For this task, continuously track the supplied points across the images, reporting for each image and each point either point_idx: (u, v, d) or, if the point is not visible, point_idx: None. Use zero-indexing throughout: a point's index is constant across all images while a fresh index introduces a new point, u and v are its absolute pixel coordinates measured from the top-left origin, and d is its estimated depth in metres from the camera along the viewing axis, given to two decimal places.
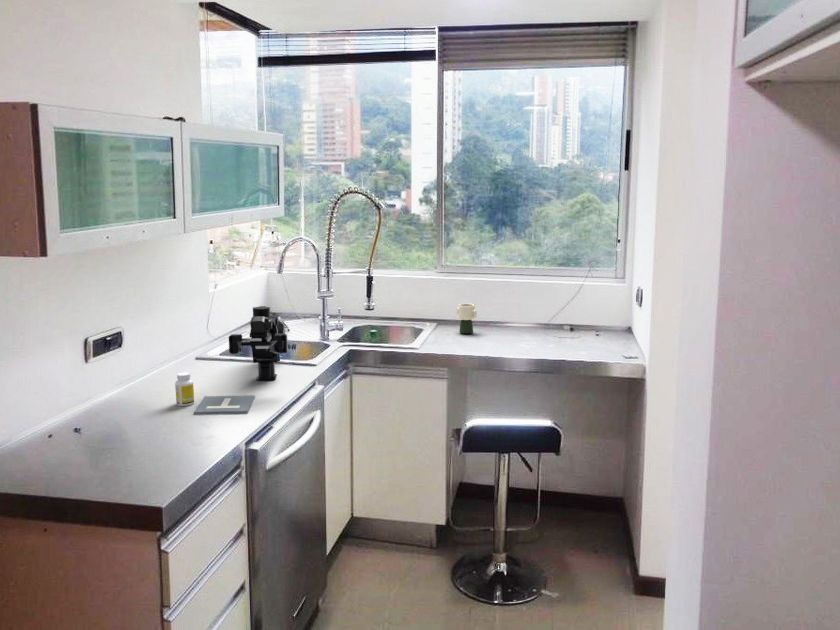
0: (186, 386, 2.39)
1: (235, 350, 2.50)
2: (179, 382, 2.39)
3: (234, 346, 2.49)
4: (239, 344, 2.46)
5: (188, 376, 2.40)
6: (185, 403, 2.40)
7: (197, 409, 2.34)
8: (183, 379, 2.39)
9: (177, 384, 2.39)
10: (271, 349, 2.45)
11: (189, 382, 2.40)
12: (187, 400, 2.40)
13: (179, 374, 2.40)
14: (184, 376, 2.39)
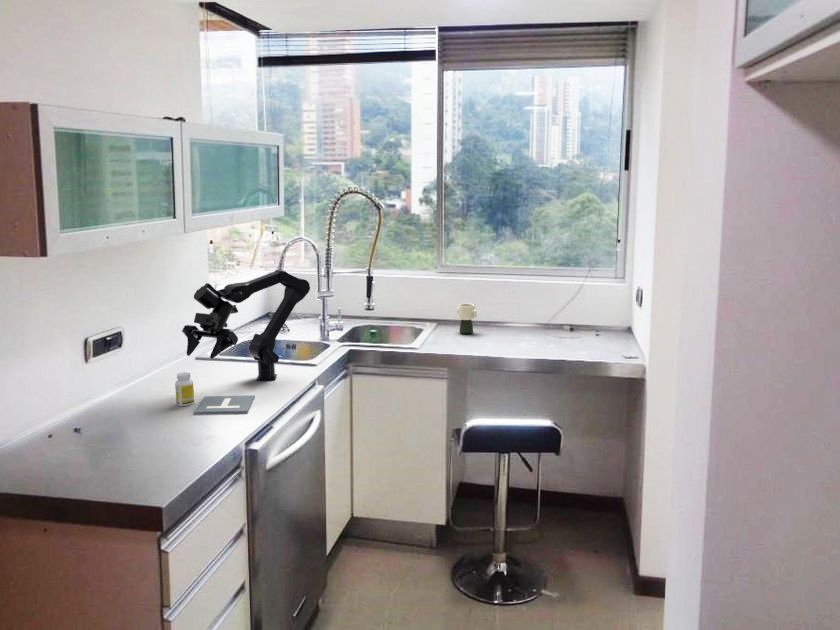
0: (186, 386, 2.39)
1: None
2: (179, 382, 2.39)
3: None
4: (188, 345, 2.50)
5: (188, 376, 2.40)
6: (185, 403, 2.40)
7: (197, 409, 2.34)
8: (183, 379, 2.39)
9: (177, 384, 2.39)
10: (213, 356, 2.46)
11: (189, 382, 2.40)
12: (187, 400, 2.40)
13: (179, 374, 2.40)
14: (184, 376, 2.39)
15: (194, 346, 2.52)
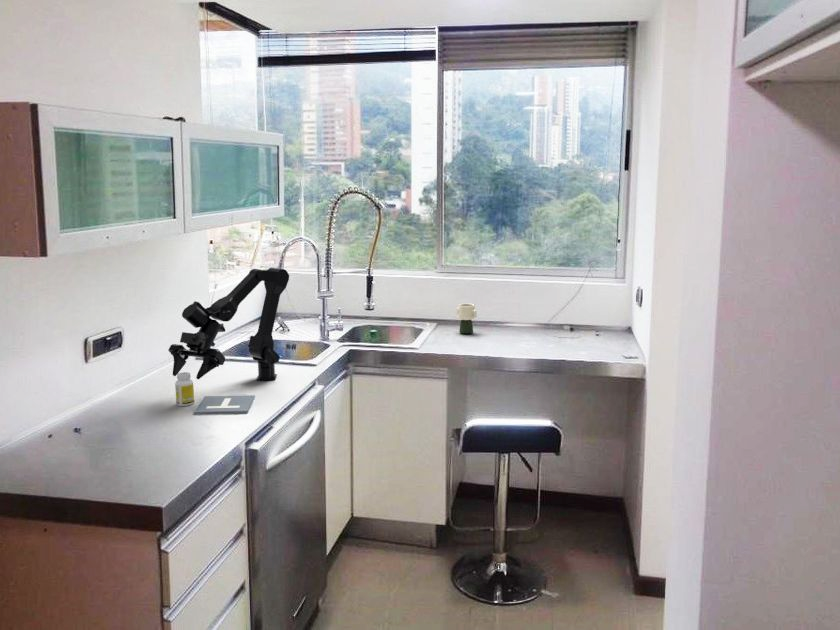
0: (186, 386, 2.39)
1: None
2: (179, 382, 2.39)
3: None
4: (174, 365, 2.44)
5: (188, 376, 2.40)
6: (185, 403, 2.40)
7: (197, 409, 2.34)
8: (183, 379, 2.39)
9: (177, 384, 2.39)
10: (200, 376, 2.40)
11: (189, 382, 2.40)
12: (187, 400, 2.40)
13: (179, 374, 2.40)
14: (184, 376, 2.39)
15: (180, 366, 2.46)
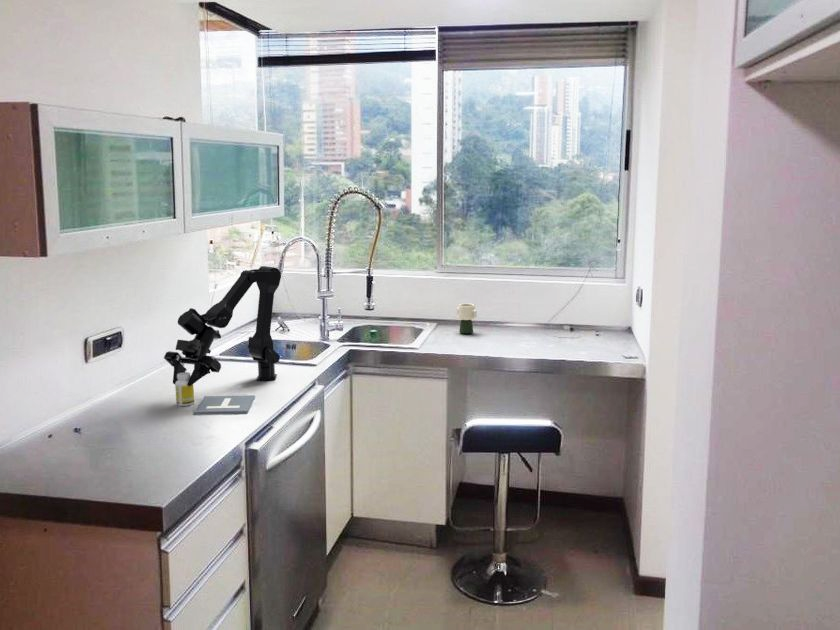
0: (186, 386, 2.39)
1: None
2: (179, 382, 2.39)
3: None
4: (174, 373, 2.42)
5: (188, 376, 2.40)
6: (185, 403, 2.40)
7: (197, 409, 2.34)
8: (183, 379, 2.39)
9: (177, 384, 2.39)
10: (191, 383, 2.39)
11: None
12: (187, 400, 2.40)
13: (179, 374, 2.40)
14: (184, 376, 2.39)
15: None
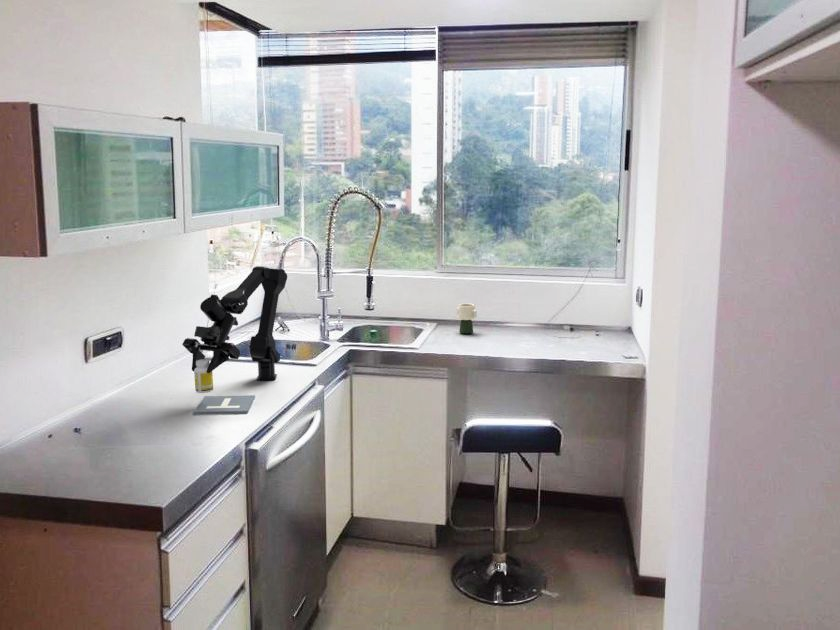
0: (205, 373, 2.37)
1: None
2: (198, 369, 2.37)
3: None
4: (193, 360, 2.40)
5: (207, 363, 2.38)
6: (204, 390, 2.38)
7: (197, 409, 2.34)
8: (202, 366, 2.37)
9: (196, 371, 2.37)
10: (210, 370, 2.37)
11: None
12: (206, 387, 2.38)
13: (198, 361, 2.38)
14: (203, 363, 2.37)
15: None
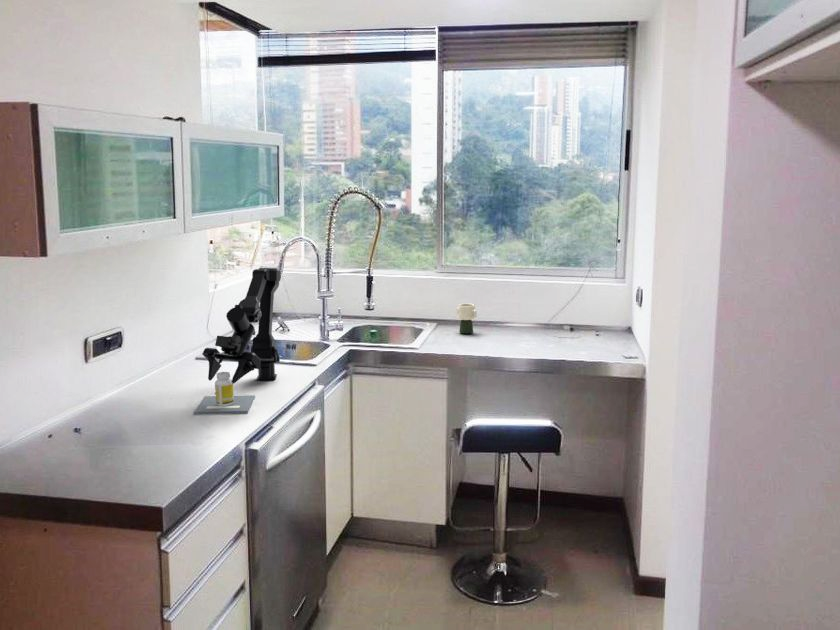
0: (226, 385, 2.36)
1: None
2: (219, 382, 2.36)
3: None
4: (209, 369, 2.39)
5: (228, 375, 2.37)
6: (225, 403, 2.37)
7: (197, 409, 2.34)
8: (223, 379, 2.36)
9: (217, 384, 2.36)
10: (235, 380, 2.35)
11: (229, 382, 2.37)
12: (227, 400, 2.37)
13: (219, 374, 2.37)
14: (224, 375, 2.36)
15: (216, 370, 2.41)
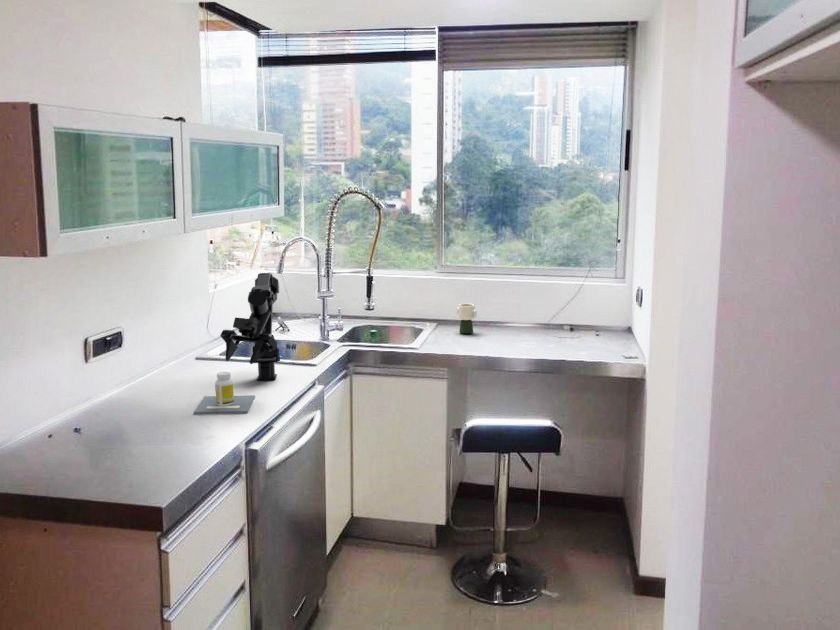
0: (227, 385, 2.36)
1: None
2: (219, 382, 2.36)
3: None
4: (227, 350, 2.47)
5: (228, 376, 2.37)
6: (225, 403, 2.37)
7: (197, 409, 2.34)
8: (223, 379, 2.36)
9: (217, 384, 2.36)
10: (253, 361, 2.43)
11: (229, 382, 2.37)
12: (227, 400, 2.37)
13: (219, 374, 2.37)
14: (224, 375, 2.36)
15: (232, 351, 2.49)
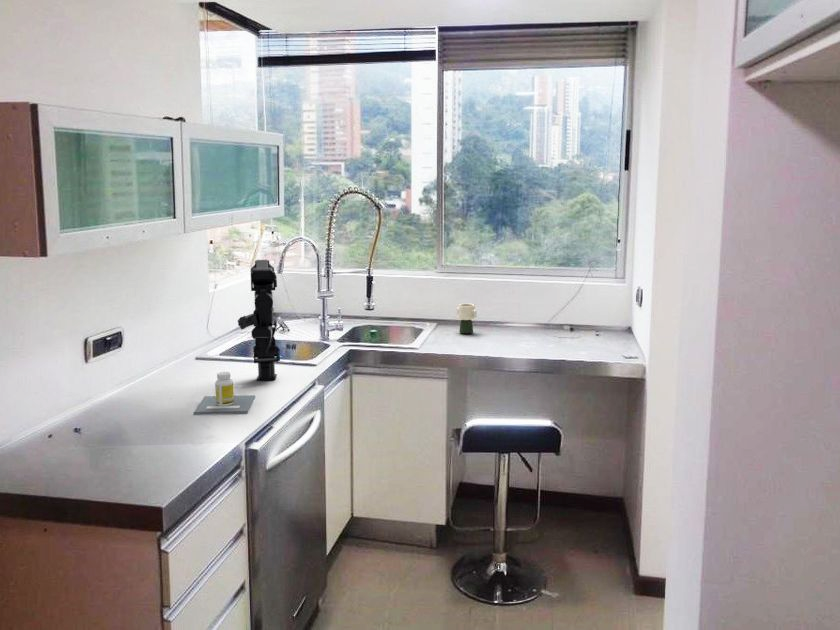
0: (227, 385, 2.36)
1: None
2: (219, 382, 2.36)
3: None
4: None
5: (228, 376, 2.37)
6: (225, 403, 2.37)
7: (197, 409, 2.34)
8: (223, 379, 2.36)
9: (217, 384, 2.36)
10: (264, 353, 2.49)
11: (229, 382, 2.37)
12: (227, 400, 2.37)
13: (219, 374, 2.37)
14: (224, 375, 2.36)
15: None
